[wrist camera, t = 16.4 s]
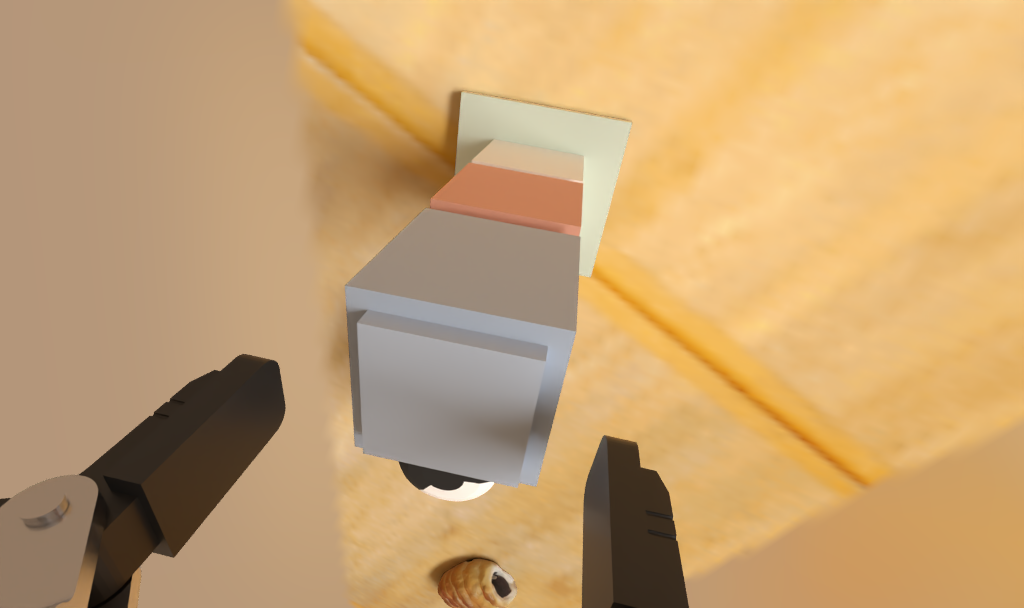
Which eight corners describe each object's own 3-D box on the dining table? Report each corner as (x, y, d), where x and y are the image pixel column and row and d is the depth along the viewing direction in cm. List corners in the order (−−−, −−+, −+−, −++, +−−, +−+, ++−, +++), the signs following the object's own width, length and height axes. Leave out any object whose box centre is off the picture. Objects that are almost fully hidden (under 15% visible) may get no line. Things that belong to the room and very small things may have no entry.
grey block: (425, 207, 16) (332, 297, 10) (580, 237, 15) (575, 346, 10) (420, 335, 18) (345, 462, 13) (551, 362, 18) (534, 504, 12)
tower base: (464, 90, 27) (425, 103, 20) (631, 121, 26) (644, 143, 20) (451, 244, 32) (416, 293, 25) (590, 272, 31) (590, 329, 25)
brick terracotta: (469, 162, 21) (425, 203, 16) (583, 183, 21) (581, 232, 15) (459, 265, 24) (419, 332, 18) (560, 285, 24) (551, 359, 18)
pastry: (462, 597, 56) (454, 631, 52) (428, 567, 54) (417, 600, 50) (523, 582, 52) (518, 618, 49) (489, 549, 50) (481, 584, 47)
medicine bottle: (427, 328, 36) (362, 441, 25) (509, 307, 34) (474, 421, 23) (463, 395, 39) (417, 521, 28) (541, 379, 36) (521, 509, 26)
